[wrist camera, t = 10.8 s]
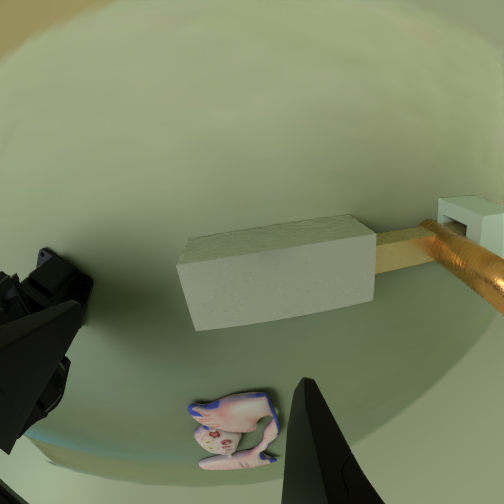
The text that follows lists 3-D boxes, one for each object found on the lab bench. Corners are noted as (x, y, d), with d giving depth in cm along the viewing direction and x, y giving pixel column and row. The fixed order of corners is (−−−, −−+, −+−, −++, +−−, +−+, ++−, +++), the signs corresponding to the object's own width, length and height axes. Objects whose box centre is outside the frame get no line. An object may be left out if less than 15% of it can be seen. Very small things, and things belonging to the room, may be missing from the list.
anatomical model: (203, 461, 36) (290, 450, 35) (202, 474, 33) (293, 464, 32) (144, 396, 28) (266, 381, 27) (140, 414, 25) (269, 402, 25)
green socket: (433, 258, 22) (471, 286, 17) (438, 198, 20) (482, 216, 15) (468, 249, 22) (504, 272, 17) (473, 195, 20) (515, 211, 15)
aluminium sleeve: (202, 295, 22) (195, 331, 18) (188, 239, 20) (175, 265, 16) (349, 271, 22) (372, 300, 18) (348, 214, 20) (376, 233, 16)
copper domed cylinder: (288, 277, 21) (339, 421, 9) (284, 241, 20) (346, 376, 8) (469, 241, 21) (560, 302, 9) (472, 212, 20) (571, 266, 8)
